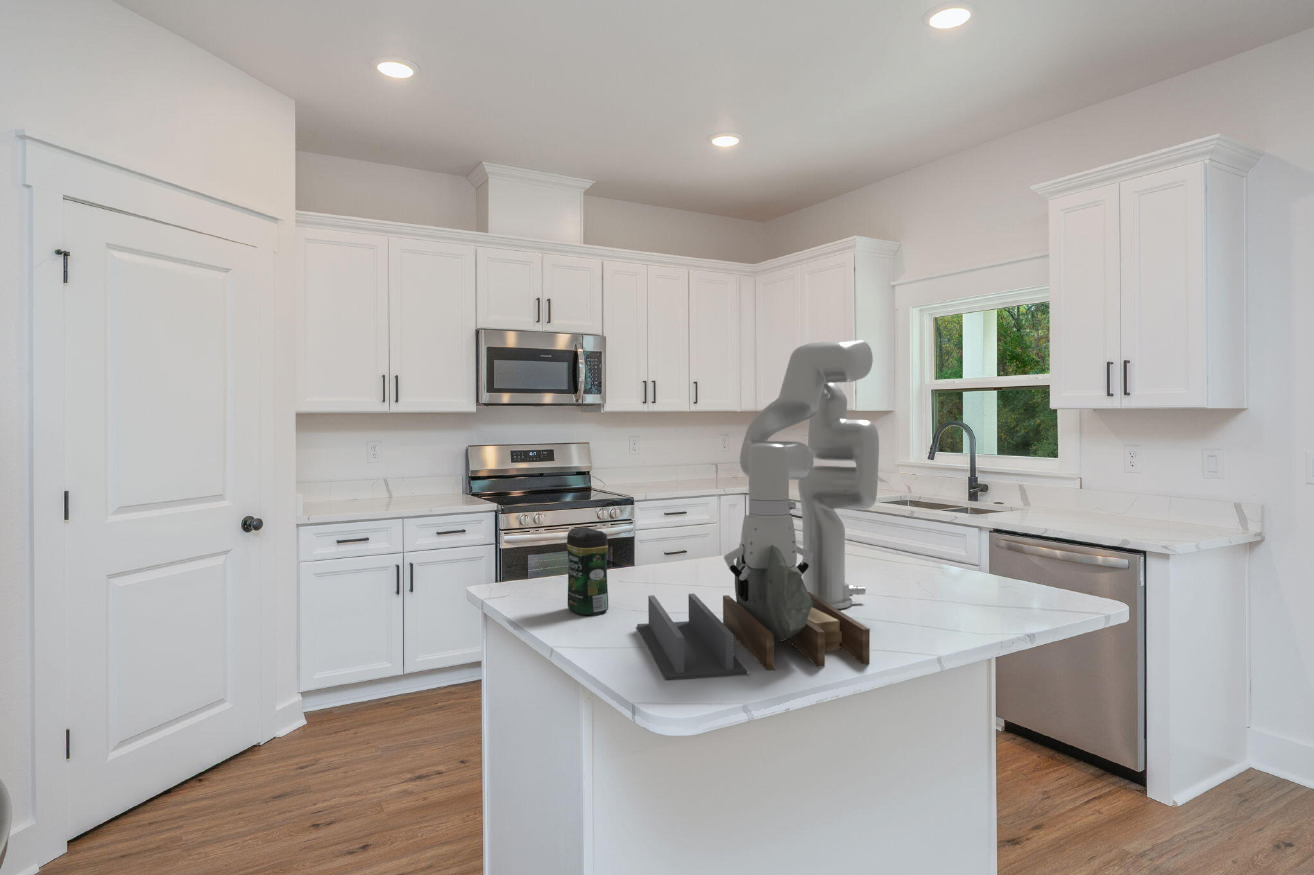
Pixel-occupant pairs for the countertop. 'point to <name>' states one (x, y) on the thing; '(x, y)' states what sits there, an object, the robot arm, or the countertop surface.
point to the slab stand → (690, 643)
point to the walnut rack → (805, 641)
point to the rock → (776, 597)
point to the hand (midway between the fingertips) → (768, 598)
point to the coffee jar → (587, 571)
